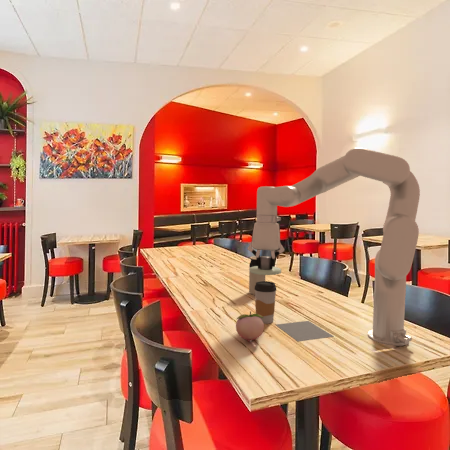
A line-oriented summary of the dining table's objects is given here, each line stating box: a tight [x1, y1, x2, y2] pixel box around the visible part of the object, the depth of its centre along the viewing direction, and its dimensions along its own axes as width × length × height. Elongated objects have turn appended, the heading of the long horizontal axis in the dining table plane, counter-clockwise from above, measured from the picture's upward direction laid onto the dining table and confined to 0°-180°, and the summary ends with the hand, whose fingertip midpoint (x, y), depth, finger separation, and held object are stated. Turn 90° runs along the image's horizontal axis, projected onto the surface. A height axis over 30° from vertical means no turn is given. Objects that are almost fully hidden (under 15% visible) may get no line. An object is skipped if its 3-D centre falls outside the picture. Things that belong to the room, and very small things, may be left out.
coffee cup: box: [254, 280, 277, 325], centre depth 133 cm, size 8×8×15 cm
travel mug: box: [248, 255, 266, 296], centre depth 175 cm, size 8×8×18 cm
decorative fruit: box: [235, 311, 265, 342], centre depth 115 cm, size 9×8×10 cm
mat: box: [275, 320, 335, 342], centre depth 125 cm, size 16×14×1 cm
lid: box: [248, 255, 282, 276], centre depth 132 cm, size 12×12×6 cm
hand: (265, 267), depth 132 cm, fingers closed on lid, 4 cm apart
